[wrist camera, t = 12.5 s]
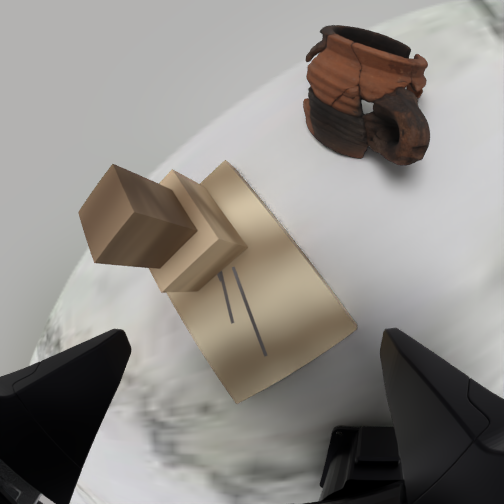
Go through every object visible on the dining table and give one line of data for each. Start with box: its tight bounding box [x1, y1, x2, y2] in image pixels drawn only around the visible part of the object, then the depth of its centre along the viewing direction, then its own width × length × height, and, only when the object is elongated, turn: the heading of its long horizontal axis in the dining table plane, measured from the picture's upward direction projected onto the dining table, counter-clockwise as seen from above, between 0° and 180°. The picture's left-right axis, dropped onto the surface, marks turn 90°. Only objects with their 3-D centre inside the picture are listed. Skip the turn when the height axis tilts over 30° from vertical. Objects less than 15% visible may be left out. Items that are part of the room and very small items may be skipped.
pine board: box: [167, 160, 357, 404], centre depth 19 cm, size 15×10×2 cm, turn 37°
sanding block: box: [79, 164, 248, 293], centre depth 16 cm, size 6×5×9 cm
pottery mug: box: [303, 25, 430, 165], centre depth 15 cm, size 12×10×8 cm
